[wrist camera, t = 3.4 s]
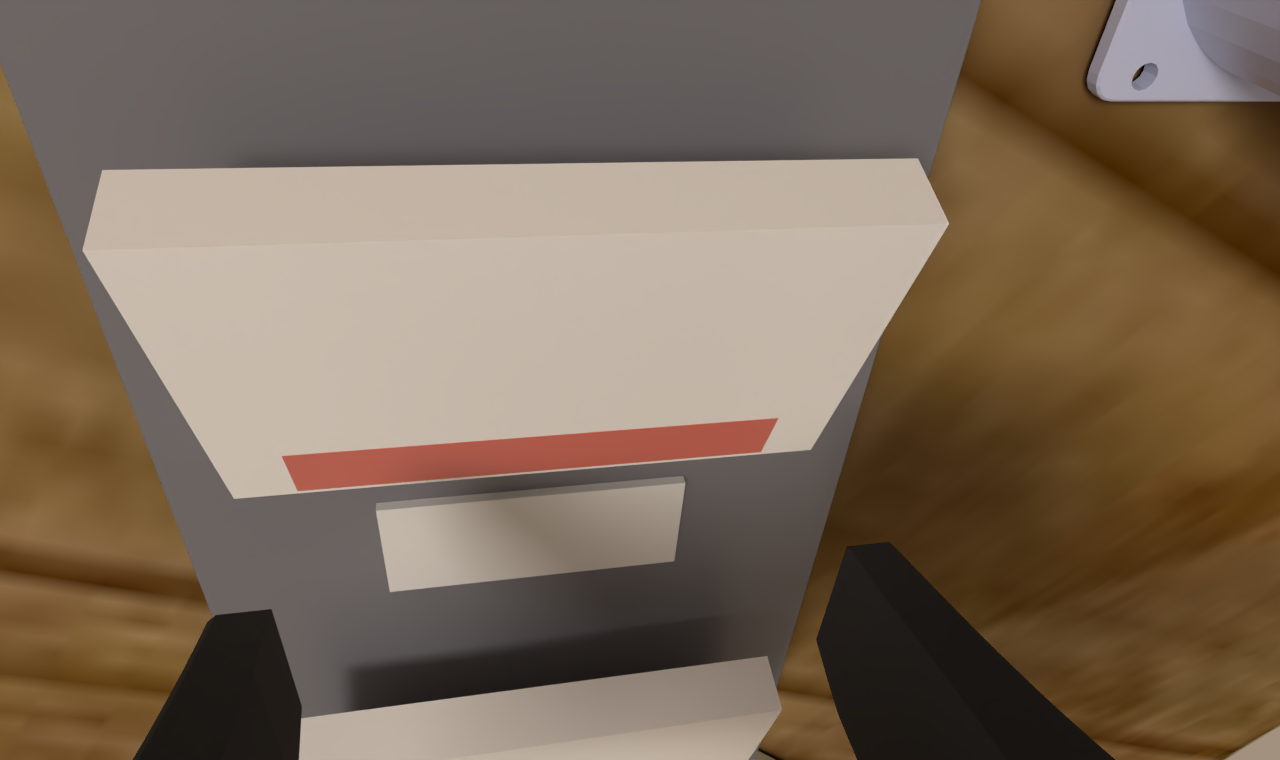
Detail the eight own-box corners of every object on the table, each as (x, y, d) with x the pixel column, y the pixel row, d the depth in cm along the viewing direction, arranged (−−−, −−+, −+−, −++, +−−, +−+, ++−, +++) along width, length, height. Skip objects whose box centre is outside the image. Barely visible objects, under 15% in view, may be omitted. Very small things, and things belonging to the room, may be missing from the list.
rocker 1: (917, 157, 12) (949, 224, 11) (794, 394, 16) (811, 450, 16) (103, 169, 10) (82, 251, 9) (240, 434, 14) (233, 499, 14)
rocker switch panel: (903, -88, 14) (1002, -43, 12) (727, 671, 28) (757, 765, 25) (38, -128, 12) (-65, -82, 9) (307, 728, 25) (294, 839, 23)
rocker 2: (767, 655, 19) (782, 710, 18) (719, 741, 24) (729, 788, 23) (294, 718, 17) (289, 782, 16) (341, 799, 22) (338, 852, 21)
